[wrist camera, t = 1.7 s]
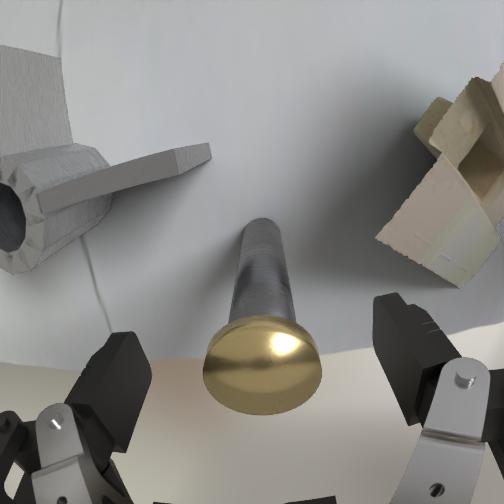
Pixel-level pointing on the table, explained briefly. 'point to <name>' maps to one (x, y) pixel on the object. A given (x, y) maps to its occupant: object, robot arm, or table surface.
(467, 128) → the beige folded piece
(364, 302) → the table surface
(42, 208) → the hinge
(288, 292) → the pin
